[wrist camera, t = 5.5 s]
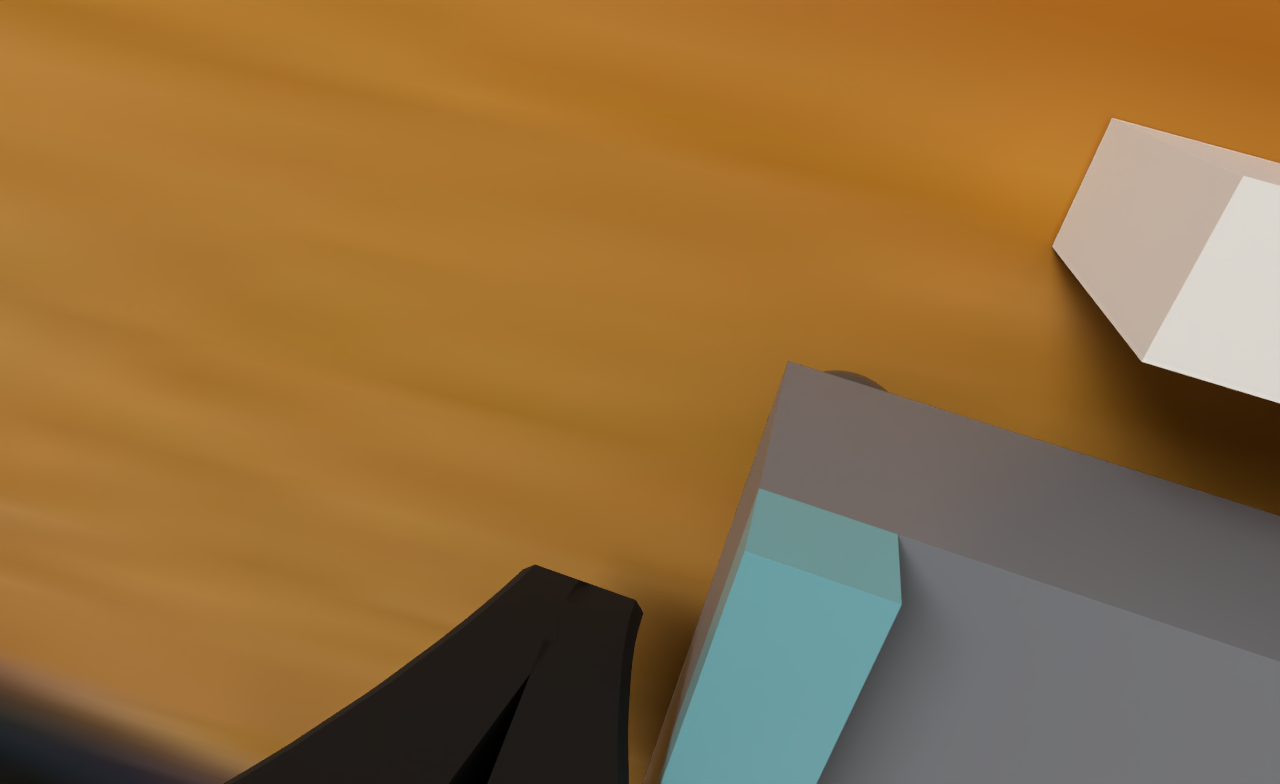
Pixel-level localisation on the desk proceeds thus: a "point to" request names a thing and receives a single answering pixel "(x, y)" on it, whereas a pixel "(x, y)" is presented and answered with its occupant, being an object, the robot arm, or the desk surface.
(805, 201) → the desk surface
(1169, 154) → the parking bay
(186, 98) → the desk surface
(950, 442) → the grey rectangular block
